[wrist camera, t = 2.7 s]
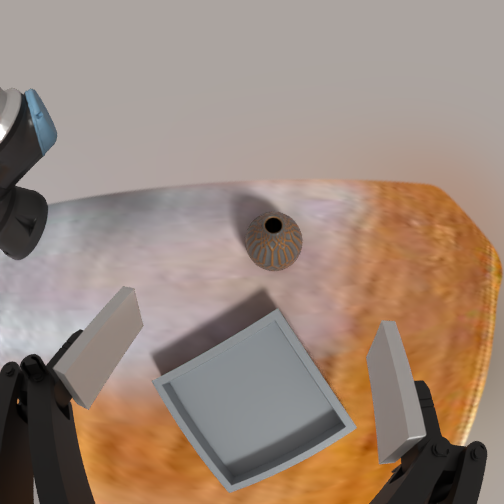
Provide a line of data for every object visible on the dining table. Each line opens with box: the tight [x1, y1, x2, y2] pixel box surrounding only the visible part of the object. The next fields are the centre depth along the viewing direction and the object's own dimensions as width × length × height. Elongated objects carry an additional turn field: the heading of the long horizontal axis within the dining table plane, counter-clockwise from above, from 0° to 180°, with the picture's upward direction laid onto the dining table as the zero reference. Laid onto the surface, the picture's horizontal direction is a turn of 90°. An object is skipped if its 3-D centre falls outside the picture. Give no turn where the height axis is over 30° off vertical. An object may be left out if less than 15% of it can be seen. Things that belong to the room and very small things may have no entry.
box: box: [152, 308, 357, 493], centre depth 29 cm, size 18×18×4 cm
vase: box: [245, 212, 302, 271], centre depth 33 cm, size 7×7×9 cm
